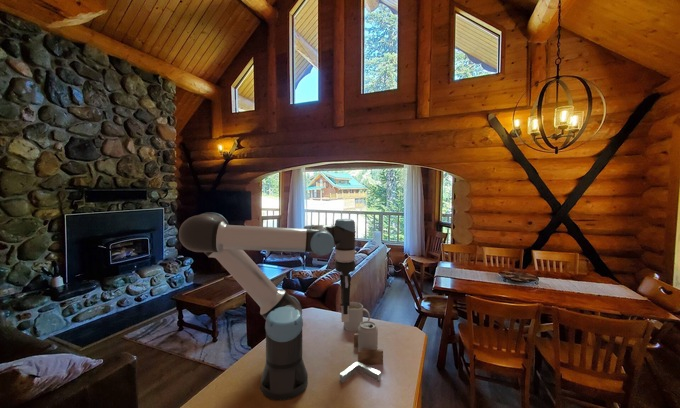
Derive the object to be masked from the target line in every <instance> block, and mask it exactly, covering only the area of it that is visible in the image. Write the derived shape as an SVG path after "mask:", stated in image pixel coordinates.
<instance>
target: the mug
mask: <svg viewBox="0 0 680 408" xmlns="http://www.w3.org/2000/svg"><path fill="white" fill-rule="evenodd" d="M364 312H365V313H366V314H367V316H368V319H367V321H370V320H371V315H370V314H371V313H370V312H369V311H368V309H366V308H364V306H363V304H361V303H360V302H356V301H350V305H349V322H343V328H344V329H345V330H346V331H348V332H358V327H359V326H360V323H361V322H364Z"/></svg>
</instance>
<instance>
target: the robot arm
mask: <svg viewBox="0 0 680 408" xmlns="http://www.w3.org/2000/svg"><path fill="white" fill-rule="evenodd" d="M334 222H335V223H334V224H309V225H305V226H303V228H295V227H294V228H293V227H292V228H291V227H273V226H258V225H257V226H255V225H254V226H253V225H234V224H229V222H228V220H227V218H225V217H224V216H223V215H222V214H220V213H217V212H204V213H200V214H197V215H193V216H191V217H188V218H187V219H185V220H184V221H183V222H182V223H181V225H180V227H179V230H178V239H179V242H180V244H181V245H182V246H183V247H184V248H186V249H187V250H188V251H192V252H195V253H204V254H205V255H206V256H207V257H208V258H214V259H216V260H217V261H218V263H219V264H220V265H221V266H222V267H223V268H224V269H225V270H226V271H227V272H228V273H229V274H230V275H231V276H232V278H233V279H234V280H235V281H236V282H237V283H238V285H240V286H241V288H243V290H244V291H245V292H246V293H247V294H248V295H249V296H250V297H251V298H252V299H253V301H254V302H255V303H256V304H257V305H258V306H259V309H260V311H259V314H260V315H261V316H262V318H263V319H264V320H265V324H264V329H265V365H264V368H263V372H262V374H261V378H260V391H261V394H262V393H263V394H262V395H263V397H265V396H266V397H265V398H267V399H270V400H272V401H280V402H281V401H288V400H292V399H295V398H296V397H298V396H299V395H302V393H304V391H305V390H306V389H307V387H308V384H309V379H308V378H309V377H308V371H307V369H306V365H305V362H304V360H303V327H304V320H303V319H304V318H303V308H302V305H301V303H300V301H299V300H298V299H297V298H296V297H295V296H293V295H290V294H289V293H288V292H287V291H286V290H285V289H278V287H277V286H276V284H274V283H273V281H271V279H270V278H269V277H268V276H267V275H266V274H265V273H264V272H263V270H262V269H261V268H260V267H259V266H258V265H257V264H256V263H255V261H253V259H252V258H251V257H250V256H249V255H248V253H247V252H245V251H261V252H262V251H264V252H265V251H266V252H267V251H268V252H291V253H292V252H294V253H311V254H312V253H314V254H315V255H318V256H322V257H324V256H326V255H329V254H330V253H331V252H332V251H333V250H334V247H335V250H334V251H335V253H334V258H335V261H334V262H335V263H334V264H335V265H334V266H335V267H334V269H335V271H336V272H338V273H339V279H340V280H339V281H340V293H341V294H340V295H341V296H340V300H341V301H340V302H341V303H339V306H340V307H341V316H340V318H341V322H342V323H344V322H349V305H350V302H351V299H350V298H351V297H350V294H351V281H352V276H351V274H350V273H351V272H355V271H356V255H357V254H358V253H357V252H358V251H356V233H357V232H356V222H355V221H354V220H353V219H350V218H338V219H336V220H335V221H334Z"/></svg>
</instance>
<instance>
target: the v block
mask: <svg viewBox="0 0 680 408" xmlns="http://www.w3.org/2000/svg"><path fill="white" fill-rule="evenodd" d="M357 373H360V374H363V375H364V376H366V377H368V378H370V379H372V380H373V381H376V382H380V381H381V380H382V377H381V376H382V372H381V371H380V370H378V369H375V368H374V367H371V366H370V365H365V364H363V363H361V362H358V361H355V362H354V363H352V364H351V365H350V366H348V367H347V368H346V369H344V370H343V371H341V372H340V373H339V382H340V383H342V384H344V383H345V382H347V381H348V380H349V379H351V378H353V376H355V375H356V374H357Z"/></svg>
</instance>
